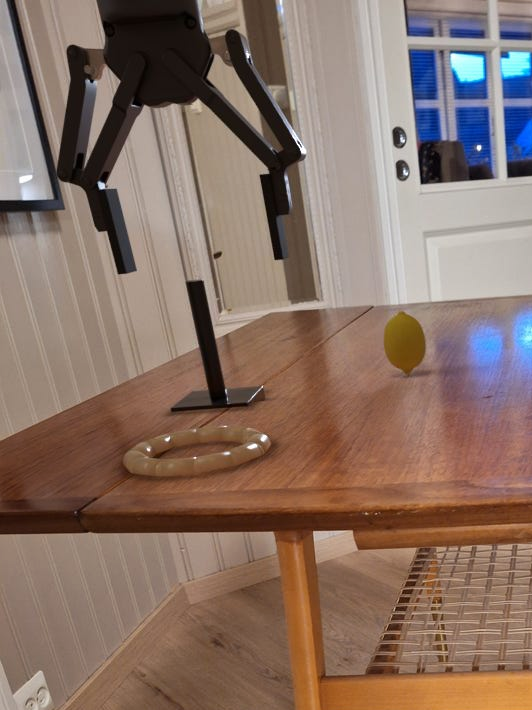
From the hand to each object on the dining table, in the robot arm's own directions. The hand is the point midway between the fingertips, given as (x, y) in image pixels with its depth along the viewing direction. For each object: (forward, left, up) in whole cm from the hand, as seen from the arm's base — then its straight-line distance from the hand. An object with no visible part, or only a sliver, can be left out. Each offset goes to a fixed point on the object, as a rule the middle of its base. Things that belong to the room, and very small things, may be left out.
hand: (204, 266), depth 75 cm
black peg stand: (-8, +24, -17) cm, 31 cm away
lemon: (+14, +37, -18) cm, 43 cm away
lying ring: (-4, 0, -16) cm, 17 cm away
